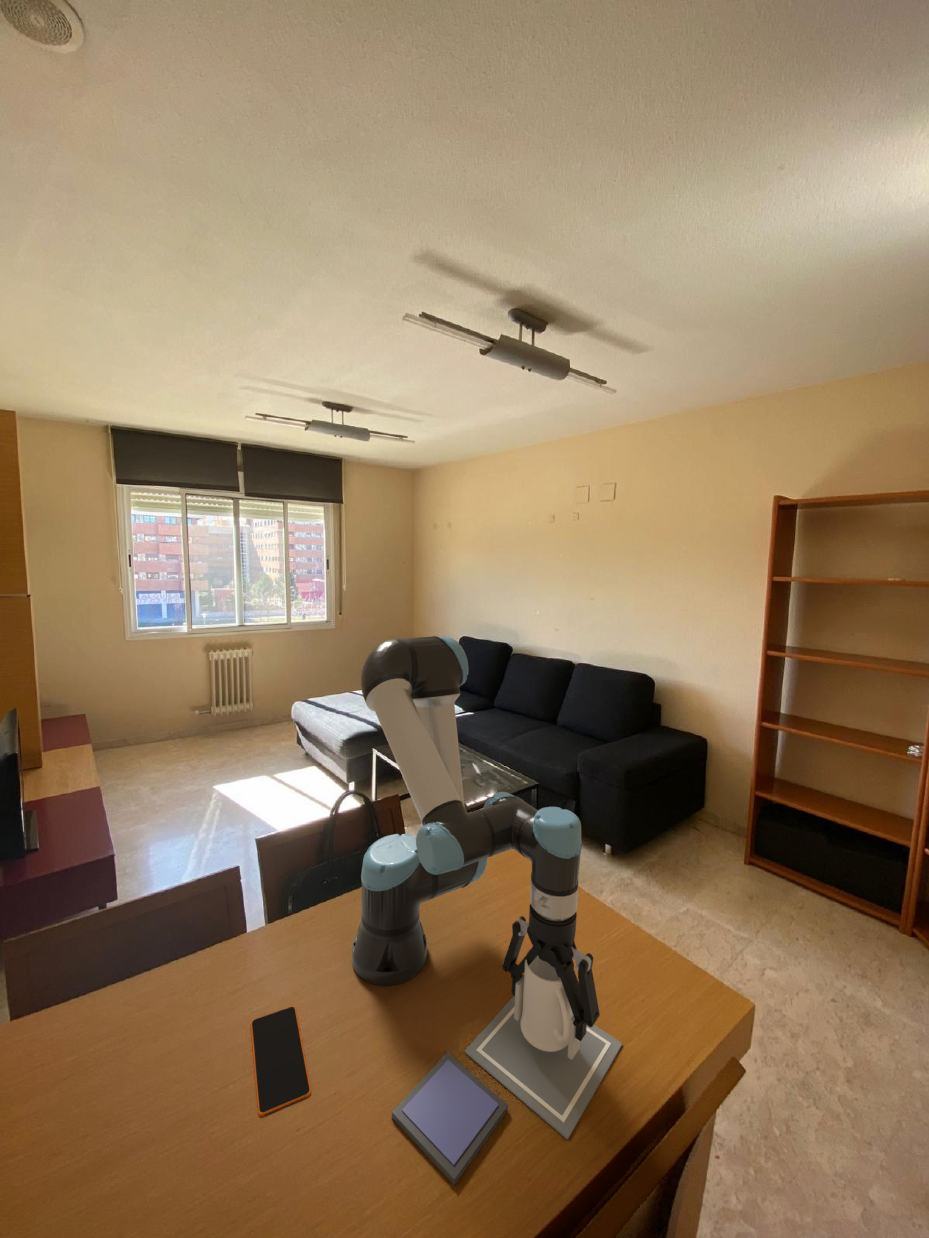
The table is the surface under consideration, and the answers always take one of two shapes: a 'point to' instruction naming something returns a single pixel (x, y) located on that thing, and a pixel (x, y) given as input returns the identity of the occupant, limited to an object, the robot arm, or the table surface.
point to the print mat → (544, 1068)
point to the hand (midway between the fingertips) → (546, 1032)
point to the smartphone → (279, 1061)
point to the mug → (545, 1007)
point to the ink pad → (450, 1116)
